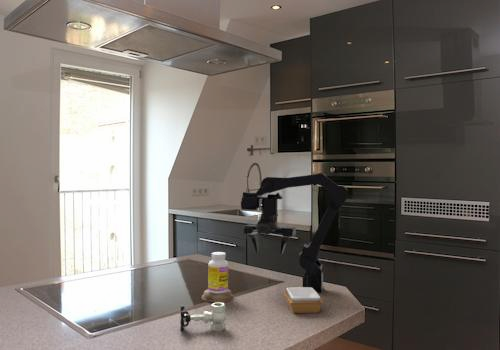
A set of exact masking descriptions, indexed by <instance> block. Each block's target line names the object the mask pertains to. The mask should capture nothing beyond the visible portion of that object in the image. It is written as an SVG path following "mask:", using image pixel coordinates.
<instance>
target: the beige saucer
mask: <svg viewBox="0 0 500 350" xmlns="http://www.w3.org/2000/svg"><path fill="white" fill-rule="evenodd" d="M233 299H234V294H233V293H232V290H231V289H229V288H228V291H227V292H226V293H223V294H213V293H210V292H209V291H208V288H207V289H206V290H204V291H203V294H202V296H201V300H203V301H204V302H206V303H211V302H214V303H217V302H220V303H221V302H222V303H227V301H228V302H230V301H232V300H233Z"/></svg>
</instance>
